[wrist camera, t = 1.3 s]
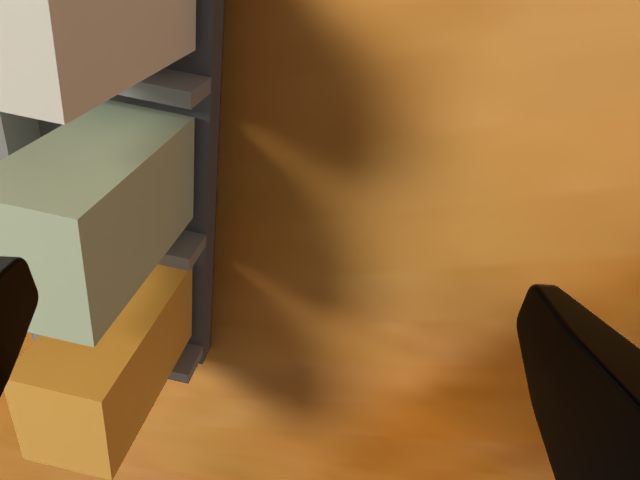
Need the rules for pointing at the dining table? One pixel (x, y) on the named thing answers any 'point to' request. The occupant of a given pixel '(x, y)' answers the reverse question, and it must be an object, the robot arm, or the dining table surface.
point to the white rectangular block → (85, 51)
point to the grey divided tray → (204, 104)
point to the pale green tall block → (96, 212)
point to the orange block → (101, 380)
